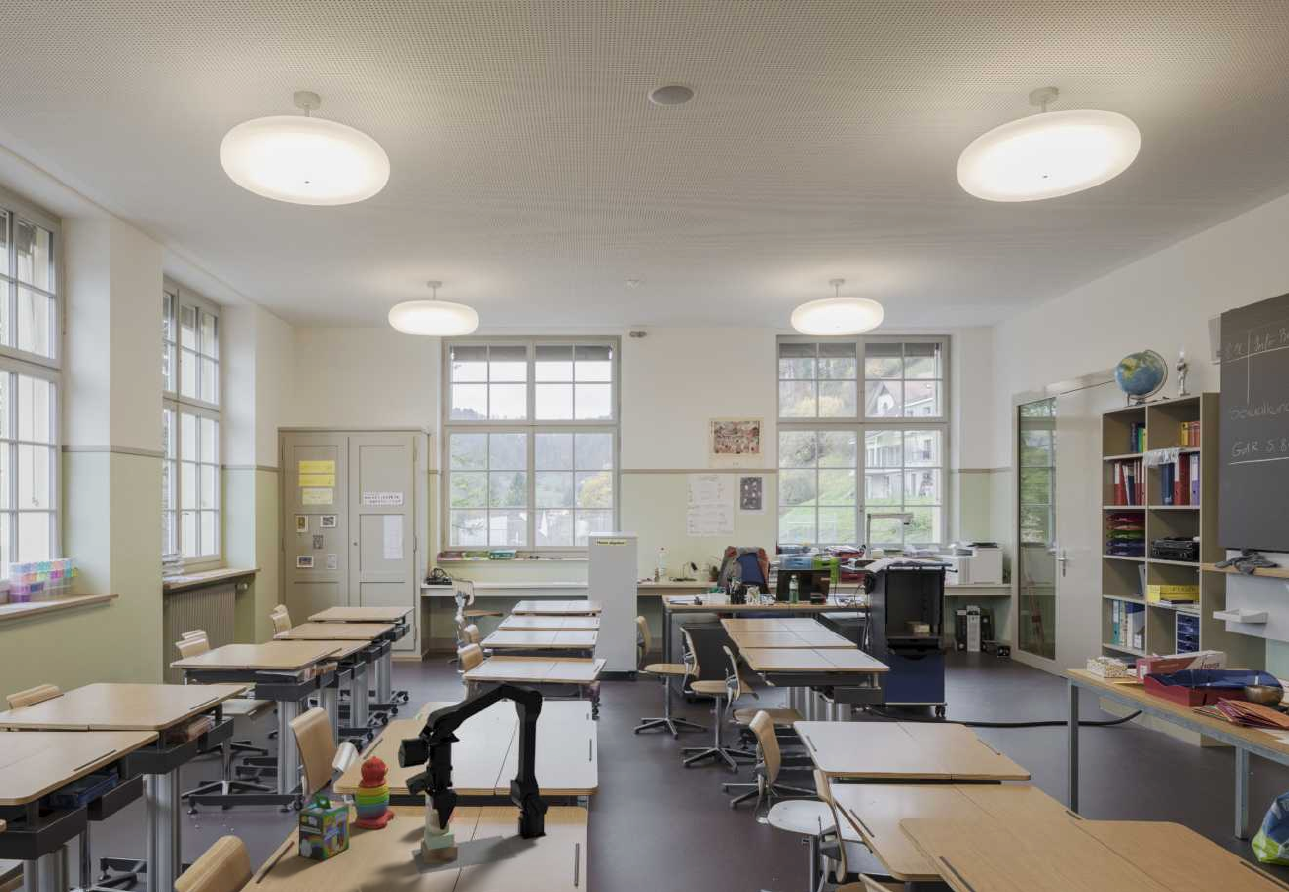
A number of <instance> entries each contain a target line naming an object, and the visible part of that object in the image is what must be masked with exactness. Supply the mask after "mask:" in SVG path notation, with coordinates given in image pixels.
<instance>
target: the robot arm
mask: <svg viewBox="0 0 1289 892" xmlns="http://www.w3.org/2000/svg"><path fill="white" fill-rule="evenodd" d="M543 697H544V696H543V694H542V693H541V692H540V691H539V690H537V689H534V688H533V687H530V686H527V685H526V686H525V685H524V686H521V687H518V686H515V685H513V684H510V683H508V682H505V681H504V680H498V681H496V682H495V683H494V684H492V685H491V686H489V687H487V688H485V689H483V690H482V691H479V692H478V693H476V694H474V695H472V696H470V697H468V698H467V699H464V700H463V701H462V702H459V703H458V704H454V705H449V706H444V707H441V708H438V709H435V710H433V711H432V712H430V713H429V714H428V717H427V719H426V723H425V725H424V726H423V728H422V730H421V731H420V733H419V734H418V736H417V737H415V738H405V739H401V740H400V743H401V744H400V746H399V748H398V751H397V758H398V759H397V760H398V764H399V767H400V768H401V769H406V768H412V767H417V766H423V765H425V764H426V763H427V764H426V766H425V771H422V772H420V773H419V772H418V773H417V774H414V775H413V776H411V777H409V778H408V779H406V780H405V781H404V782H405V785H406V787H407V791H408V793H409V794H410V797H415V796H417V795H418V794H419V793H421V792H423V791H424V792H425V794H426V793H427V794H428V795H429V796H430V800H431V805H432V810H434V809H436V810H437V813H438V819H439V826H440V830H444V829H445V827H446V825H447V823H448V821H449V818H450V816H451V814H452V812H453V813H454V810H455V807H457V805H458V804H459V795H458V792H457V791H456V790H453V789H448V787H453V783H452V781H451V771H453V772H454V770H453V769H454V766H453V765H452V749H453V748H452V745H453V744H455V743H460V738H458V737H457V736H456V735H455V733H454V732H455V731H457V730H458V729H459V728H460V726H461V725H462V724H463V723H464V722H465V721H467V719H470V718H471V717H472V716H475V715H477V714H478V713H480V712H482V711H484V710H486V709H487V708H489V707H492V706H493V705H494V704H497V703H498V702H499V701H500V702H501V701H502V700H503V699H506V700H510V701H512V702H514V708H515V711H516V715H517V717H518V721H519V723H518V724H519V727H518V729H519V730H518V753H517V754H518V757H517V758H518V759H517V760H518V761H517V774H516V776H515V779H510V780H509V785H510V788H509V789H510V790H509V793H508V794H509V795H510V796H511V800H512V801H513V803H515V805H517V806H516V807H517V809H519V810H520V811H519V816H518V817H517V833H518V835H519V836H520V837H521V838H522V840H530V839H535V838H536V839H537V838H542V837H546V836H547V833H546V832H545V821H546V820H545V816H546V815H547V813H548V810H549V806H548V805H547V804H546V803H545V802H544V801H543V800H542V799H541V793H540V786H539V784H538V781H537V776H536V752H537V751H536V748H537V747H536V744H537V722H538V720H539V717H540V715H541V713H542V709H543V703H544V698H543Z"/></svg>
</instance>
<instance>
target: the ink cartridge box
mask: <svg viewBox="0 0 1289 892" xmlns="http://www.w3.org/2000/svg"><path fill="white" fill-rule="evenodd" d="M451 781H452V783H453V787H448V789H453V790H454V786H455V784H454V783H455V782H454V770H453V771H451ZM431 810H432V805H431V800H430V796H429V795H428V794H427V793H426V792H425V829H428V828H429V814H430V811H431ZM453 820H454V811H453V812H452V814H451V816H450V818H449V824H450V823H451V822H452V821H453Z"/></svg>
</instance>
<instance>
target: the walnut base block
mask: <svg viewBox="0 0 1289 892" xmlns="http://www.w3.org/2000/svg"><path fill="white" fill-rule="evenodd" d="M456 843H457V842H456V841H455V840H454V846H452V847H446V848H440V849H434V850H428V849H427V846H426V844H425V842H424V839H421V840H420V849H421V855H422V857H423V860H424V862H425V864H431V863H437V862H442V861H448V860H454V859H458V846H457V844H456Z"/></svg>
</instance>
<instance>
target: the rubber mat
mask: <svg viewBox="0 0 1289 892" xmlns="http://www.w3.org/2000/svg"><path fill="white" fill-rule="evenodd" d="M455 843H456V844H457V846H458V859H454V860H448V861H442V862H437V863H431V864H425V862H424V860H423V857H422V855H421V848H420V849H413V850H411V853H412V855H413V856H412V857H413V858H414V861H415V863H416V866H417V868H418V871H419V873H420V875H424V874H429V873H434V872H435V873H436V872H439V871H440V872H441V871H446V870H450V869H451V870H452V869H458V868H462V867H466V866H467V867H469V866H473V865H474V866H475V865H479V864H485V863H490V862H496V861H501V860H506V859H512V858H517V856H516V854H515V852H513V850H512V848H511V847H510V845H509V844H508V842H507V841H506V840H505V838H504V837H503V835H502V834H501V835H496V836H490V837H486V838H485V837H484V838H480V839H472V840H466V841H461V842H455Z"/></svg>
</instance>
